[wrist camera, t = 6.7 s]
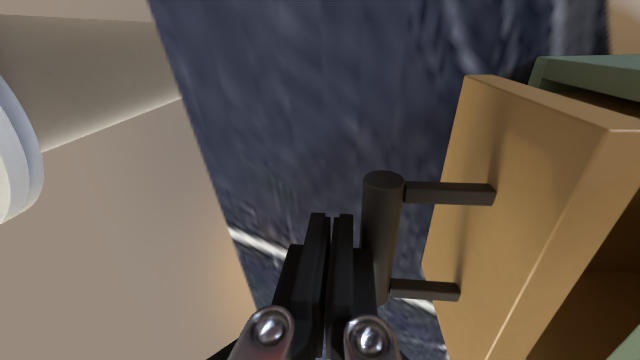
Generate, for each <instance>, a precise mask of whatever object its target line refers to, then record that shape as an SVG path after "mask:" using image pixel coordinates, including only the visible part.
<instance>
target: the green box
mask: <svg viewBox="0 0 640 360" xmlns="http://www.w3.org/2000/svg"><path fill="white" fill-rule="evenodd" d="M527 85H528V86H532V87H535V88H538V89H542V90H545V91H548V92H552V93H603V94H607V95H612V96H616V97H620V98H624V99H628V100H632V101H636V102H640V55H589V56H540V57H537V58H536V61H535V64H534V67H533V70H532V73H531V76H530V79H529V81H528V84H527ZM606 360H640V324H639V325H638V326H637V327H636V328H635V329H634V330H633V331H632V332H631V334H630V335H629V336H628V337H627V338H626V339H625V340H624V341H623V342H622V343H621V344H620V345H619V346H618V347H617V348H616V349H615V350H614V351H613V352H612V354H611V355H610V356H609V357H608V358H607V359H606Z"/></svg>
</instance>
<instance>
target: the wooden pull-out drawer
mask: <svg viewBox="0 0 640 360" xmlns="http://www.w3.org/2000/svg"><path fill="white" fill-rule="evenodd" d="M402 201H404V203H417V204H435V207H434V211H433V216H432V220H431V224H430V229H429V233H428V237H427V242H426V246H425V251H424V255H423V259H422V264H421V265H422V268H423V271H424V275H425V278H426V281H425V280H410V279H395V278H391V272H392V266H393V259H394V253H395V246H396V240H397V233H398V227H399V220H400V214H401V207H402ZM359 248H361V249H372V253H373V265H374V277H375V290H376V302H377V307H378V306H381V305H383V304H384V303H385V302H386V300H387V298H388V293H389V297H395V298H408V299H422V300H432V301H433V305H434V308H435V311H436V315H437V318H438V321H439V325H440V328H441V331H442V335H443V338H444V341H445V345H446V348H447V351H448V355H449V358H450V360H606V359H607V358H608V357H609V356H610V355H611V354H612V352H613V351H614V350H615V349H616V348H617V347H618V346H619V345H620V344H621V343H622V342H623V341H624V340H625V339H626V338H627V337H628V336H629V335H630V334H631V332H632V331H633V330H634V329H635V328H636V327H637V326H638V325H639V324H640V102H636V101H632V100H628V99H624V98H620V97H616V96H612V95H607V94H603V93H552V92H548V91H545V90H542V89H538V88H535V87H532V86H528V85H525V84H522V83H518V82H515V81H512V80H508V79H505V78H502V77H499V76H495V75H465V76H464V80H463V85H462V89H461V93H460V98H459V102H458V107H457V111H456V115H455V120H454V124H453V128H452V133H451V137H450V141H449V146H448V150H447V155H446V159H445V163H444V168H443V172H442V176H441V181H440V182H421V181H405V180H404V178H403V177H402V176H401V175H399V174H397V173H394V172H391V171H384V170H378V171H372V172H369V173H368V174H366V175H365V177H364V181H363V197H362V212H361V228H360V244H359Z"/></svg>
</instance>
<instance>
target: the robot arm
mask: <svg viewBox="0 0 640 360" xmlns="http://www.w3.org/2000/svg"><path fill="white" fill-rule="evenodd" d="M324 329H326V359H331V360H409V359H408V358H407V357H406V356H405V355H404V354H403V353H402V352H401V351H400V350H399V347H398V344H397V340H396V337H395V334H394V332H393V330H392V328H391V327H390V326H389V324H388V323H387V322H386V321H385V320H383V319H382V318H381V317H379V316H378V314H377V302H376V290H375V277H374V265H373V253H372V249H361V248H353V215H352V214H340V217H334V224H333V233H332V242H331V232H330V217H326V215H325V213H311V217H310V221H309V225H308V229H307V234H306V238H305V242H304V245H298V244H291V245H290V246H289V249H288V252H287V255H286V258H285V262H284V265H283V268H282V272H281V275H280V278H279V281H278V285H277V288H276V291H275V294H274V298H273V301H272V304H271V305H269V306H265V307H263V308H261V309H259V310H257V311H256V312H255V313H254V314H252V316H251V317H250V318H249V320H248V321H247V323H246V325H245V327H244V329H243V330H242V332H241V334H240V336H239V338H238V339H236V340H235V341H233V342H232V343H230V344H229V345H227V346H226V347H224V348H223V349H221V350H220V351H219V352H217V353H216V354H214V355H213V356H211V357H210V358H208V359H207V360H315V359H316V358H321V357H322V349H323V339H324Z"/></svg>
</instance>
